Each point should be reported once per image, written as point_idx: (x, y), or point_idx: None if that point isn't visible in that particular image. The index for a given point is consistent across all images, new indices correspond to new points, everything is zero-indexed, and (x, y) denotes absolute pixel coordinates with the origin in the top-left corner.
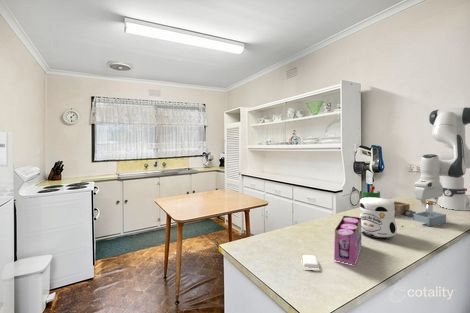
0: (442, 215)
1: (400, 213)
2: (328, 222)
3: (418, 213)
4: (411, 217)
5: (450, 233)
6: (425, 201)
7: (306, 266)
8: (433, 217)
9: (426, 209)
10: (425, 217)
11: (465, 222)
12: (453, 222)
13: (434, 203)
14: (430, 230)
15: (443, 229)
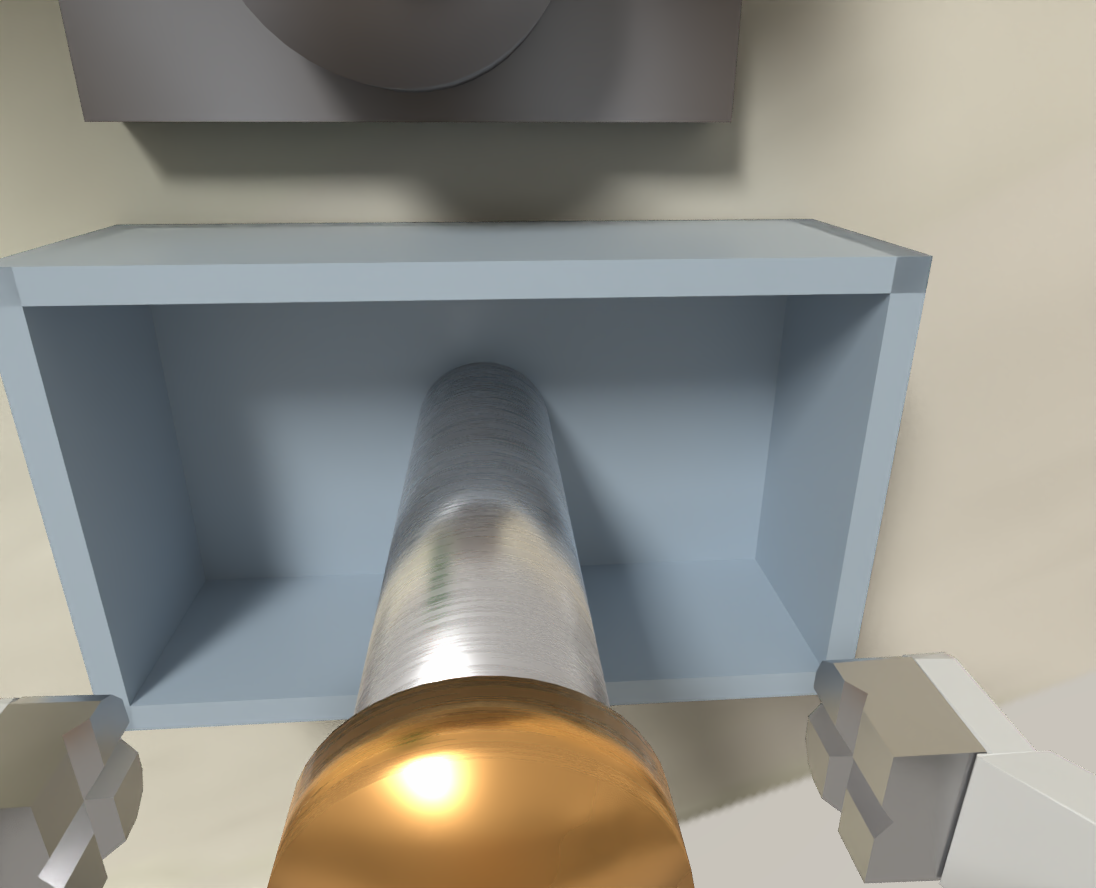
0: (680, 696)
1: None
2: None
3: (274, 298)
4: (246, 74)
5: (214, 860)
6: (310, 811)
7: None
8: (262, 722)
9: (388, 564)
10: (79, 628)
11: (1070, 679)
12: (907, 605)
13: (840, 781)
14: (11, 690)
15: (304, 737)
